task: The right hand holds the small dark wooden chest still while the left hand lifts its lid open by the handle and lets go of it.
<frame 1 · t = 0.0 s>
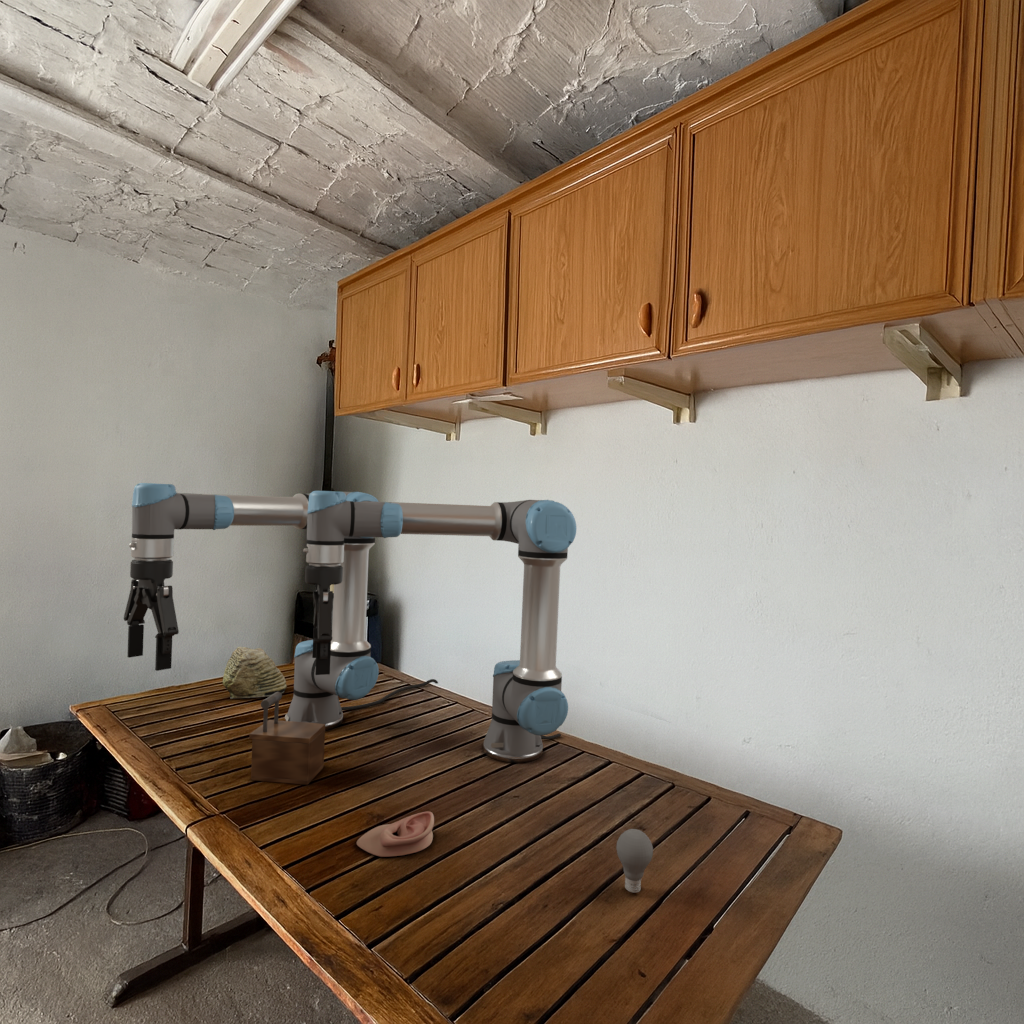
left hand: (148, 662, 129), 28 cm above the table, tool pointing down, fingers open, 13 cm apart
right hand: (320, 665, 133), 28 cm above the table, tool pointing down, fingers open, 13 cm apart
anatomical model: (395, 841, 118), on the table
light bulb: (632, 891, 106), on the table
fossil: (254, 694, 198), on the table
lid: (288, 715, 144), point 13 cm above the table, hinge at 0.0°
chest: (288, 773, 144), on the table
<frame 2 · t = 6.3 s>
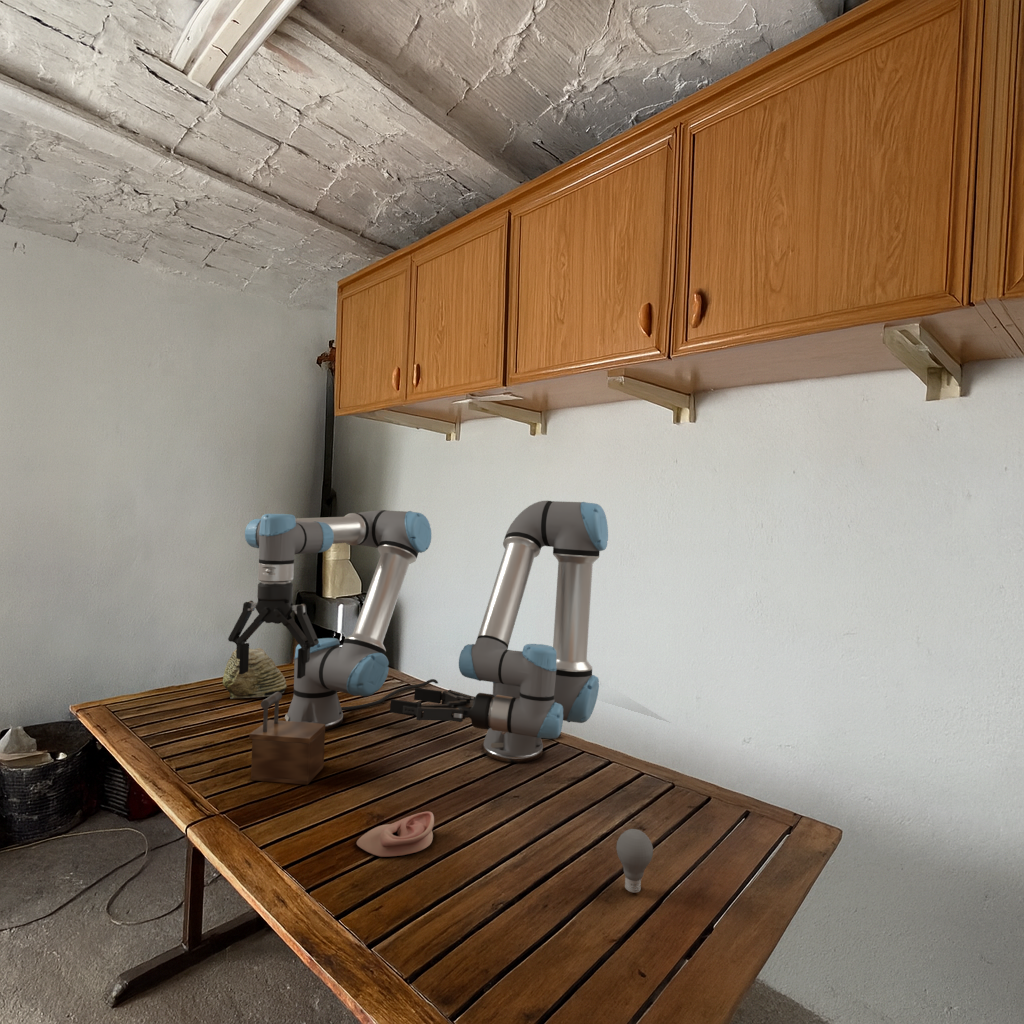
left hand: (272, 674, 144), 22 cm above the table, tool pointing down, fingers open, 13 cm apart
right hand: (403, 699, 145), 18 cm above the table, tool horizontal, fingers open, 13 cm apart
nothing on the table moved.
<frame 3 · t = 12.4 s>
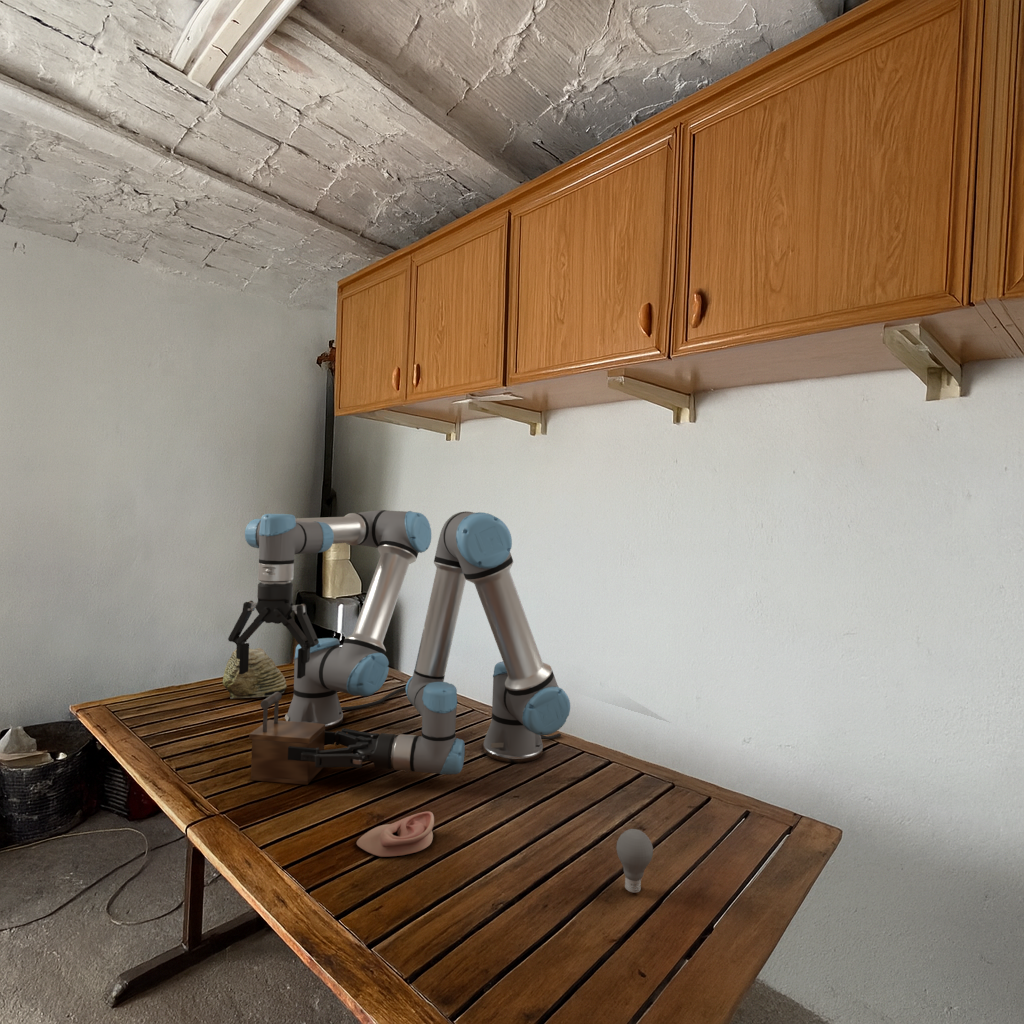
left hand: (272, 674, 144), 22 cm above the table, tool pointing down, fingers open, 13 cm apart
right hand: (298, 744, 144), 7 cm above the table, tool horizontal, fingers closed on chest, 9 cm apart
chest: (288, 773, 144), on the table, touching right hand
everything else where it was.
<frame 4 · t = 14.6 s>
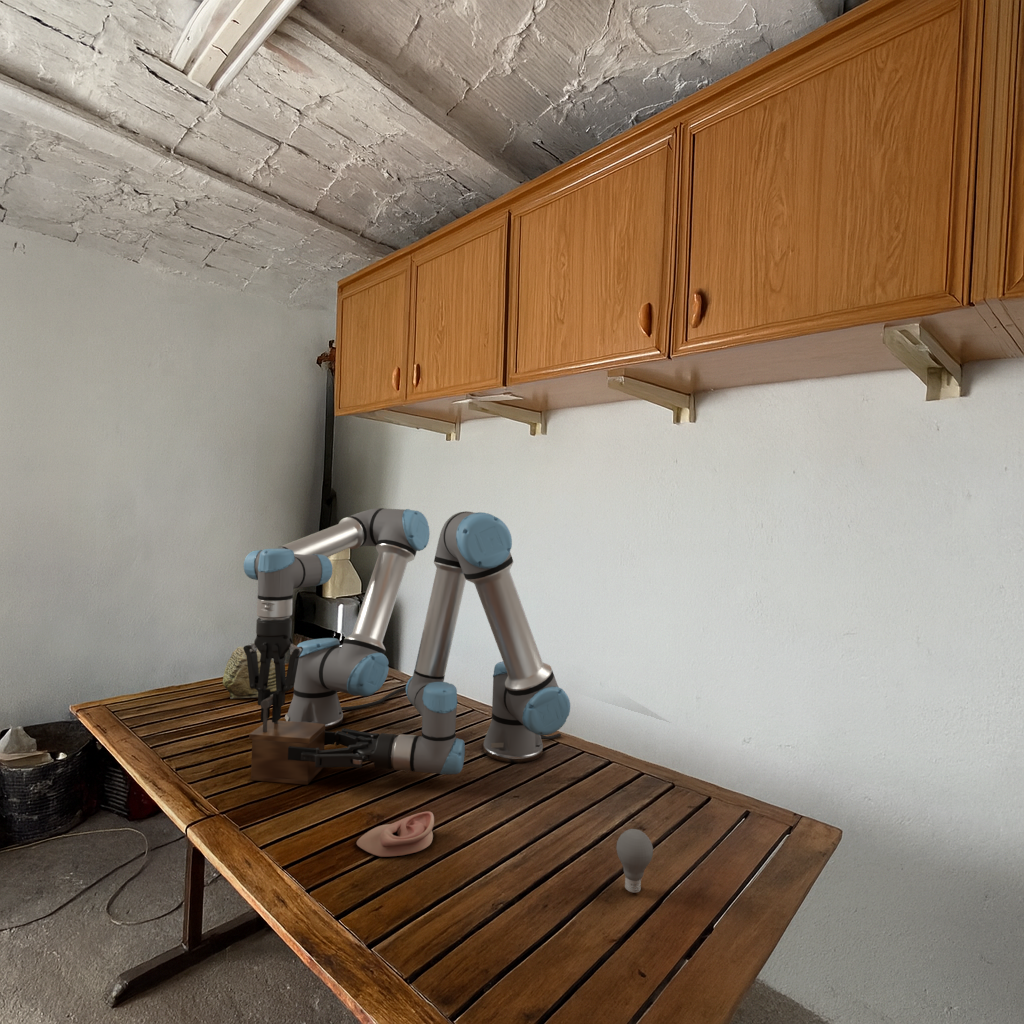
left hand: (270, 719, 144), 12 cm above the table, tool pointing down, fingers closed on lid, 2 cm apart
right hand: (298, 744, 144), 7 cm above the table, tool horizontal, fingers closed on chest, 9 cm apart
lid: (288, 715, 144), point 13 cm above the table, hinge at -0.1°, touching left hand
chest: (288, 773, 144), on the table, touching right hand
everything else where it was.
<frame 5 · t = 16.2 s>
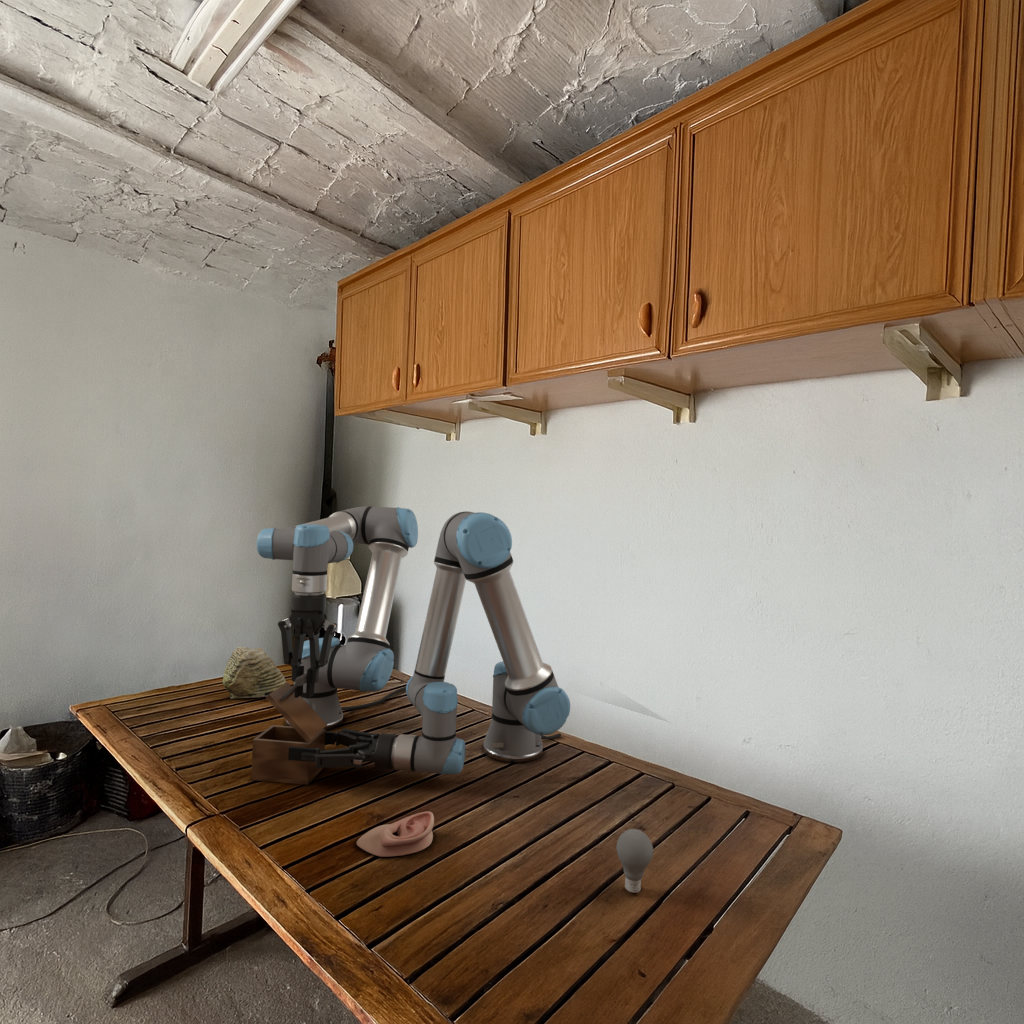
left hand: (304, 696, 143), 18 cm above the table, tool pointing down, fingers closed on lid, 2 cm apart
right hand: (298, 744, 144), 7 cm above the table, tool horizontal, fingers closed on chest, 9 cm apart
lid: (308, 700, 143), point 17 cm above the table, hinge at 42.8°, touching left hand
chest: (288, 773, 144), on the table, touching right hand
everything else where it was.
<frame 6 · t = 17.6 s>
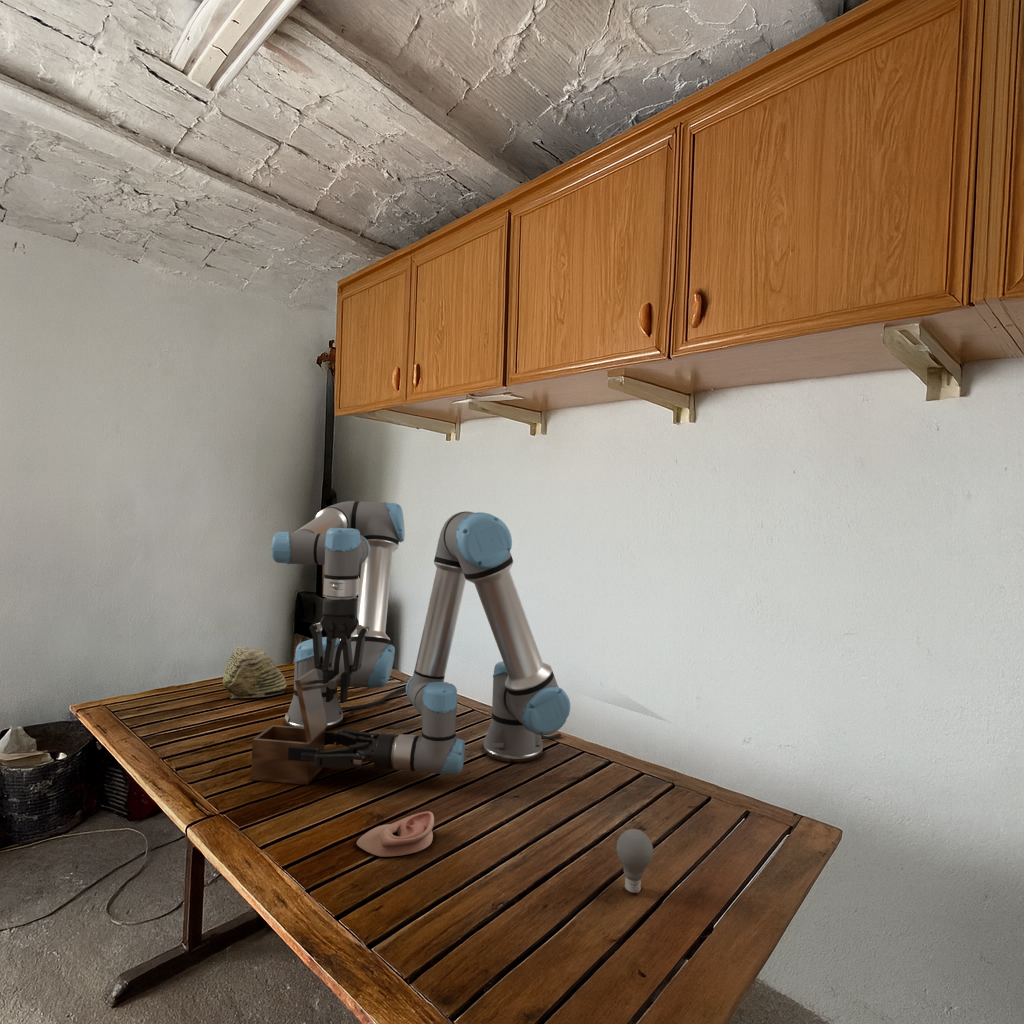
left hand: (336, 700, 143), 18 cm above the table, tool pointing down, fingers open, 3 cm apart
right hand: (298, 744, 144), 7 cm above the table, tool horizontal, fingers closed on chest, 9 cm apart
lid: (326, 701, 143), point 17 cm above the table, hinge at 76.2°
chest: (288, 773, 144), on the table, touching right hand
everything else where it was.
when the right hand's fingers open (7 cm above the table, at t = 22.1 s): chest stays where it is, on the table.
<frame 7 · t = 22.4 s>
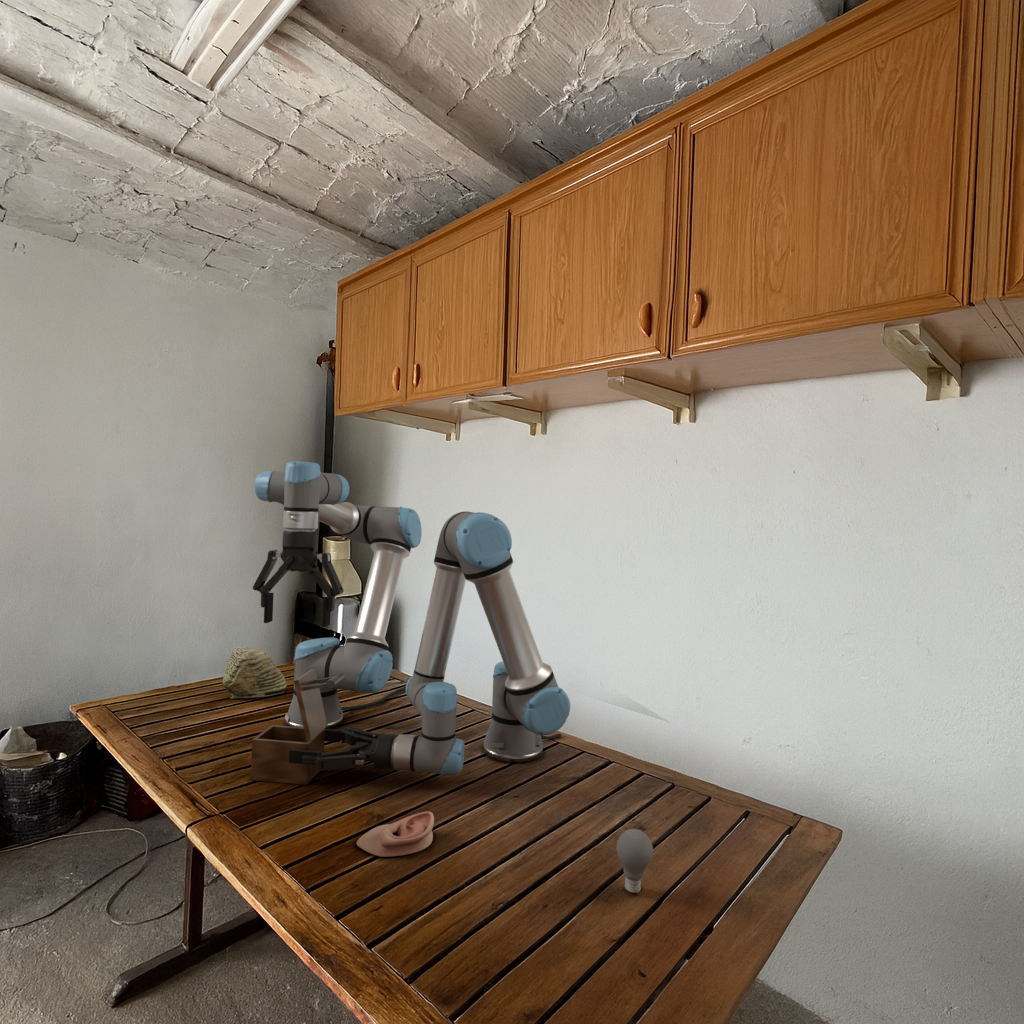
left hand: (297, 624, 143), 34 cm above the table, tool pointing down, fingers open, 13 cm apart
right hand: (302, 744, 144), 7 cm above the table, tool horizontal, fingers open, 12 cm apart
lid: (326, 701, 143), point 17 cm above the table, hinge at 75.3°
chest: (288, 773, 144), on the table
everything else where it was.
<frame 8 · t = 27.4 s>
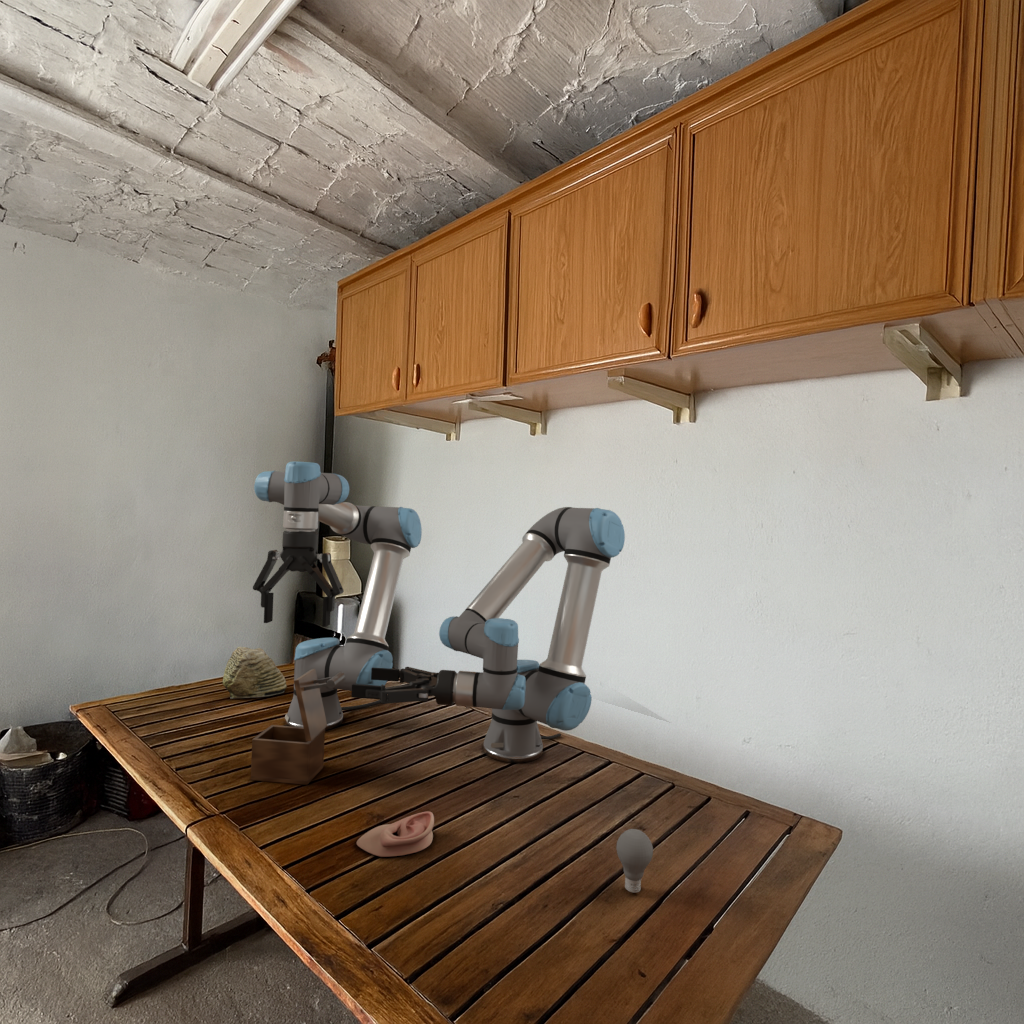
left hand: (297, 624, 143), 34 cm above the table, tool pointing down, fingers open, 13 cm apart
right hand: (362, 681, 142), 22 cm above the table, tool horizontal, fingers open, 13 cm apart
nothing on the table moved.
at the end: lid at +75° (first picture: +0°); the left hand is holding nothing; the right hand is holding nothing; chest tilted 0°; chest never tilted more than 1° during the clip; chest moved 0.1 cm from its start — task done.
